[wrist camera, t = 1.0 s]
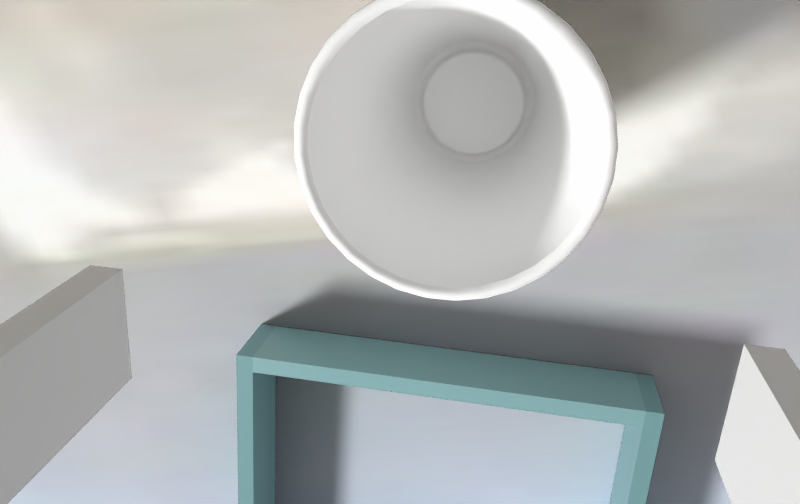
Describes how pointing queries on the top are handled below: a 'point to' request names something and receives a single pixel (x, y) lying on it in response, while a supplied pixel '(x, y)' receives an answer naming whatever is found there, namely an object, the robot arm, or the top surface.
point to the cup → (455, 143)
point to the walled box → (438, 394)
